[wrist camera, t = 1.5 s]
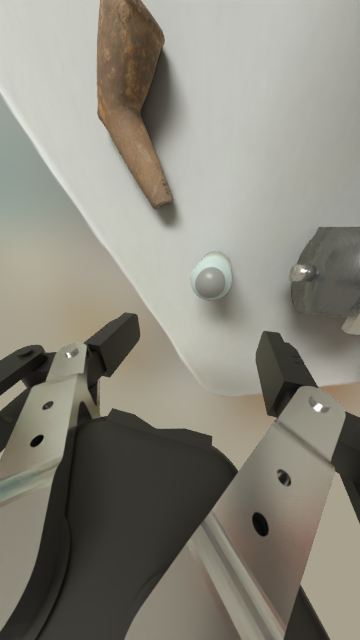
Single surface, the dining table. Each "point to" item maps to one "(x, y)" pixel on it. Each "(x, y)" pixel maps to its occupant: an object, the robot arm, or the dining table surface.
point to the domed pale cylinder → (212, 276)
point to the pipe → (130, 88)
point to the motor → (330, 276)
